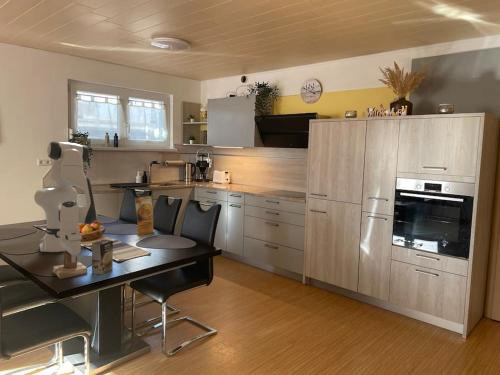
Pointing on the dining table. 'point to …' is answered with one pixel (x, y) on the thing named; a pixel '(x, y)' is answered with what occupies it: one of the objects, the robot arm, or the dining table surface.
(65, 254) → the walnut block
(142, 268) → the dining table surface
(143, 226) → the pancake mix bag
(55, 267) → the base slab
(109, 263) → the coffee box
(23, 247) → the dining table surface
